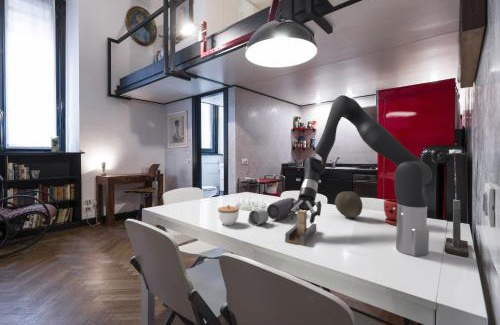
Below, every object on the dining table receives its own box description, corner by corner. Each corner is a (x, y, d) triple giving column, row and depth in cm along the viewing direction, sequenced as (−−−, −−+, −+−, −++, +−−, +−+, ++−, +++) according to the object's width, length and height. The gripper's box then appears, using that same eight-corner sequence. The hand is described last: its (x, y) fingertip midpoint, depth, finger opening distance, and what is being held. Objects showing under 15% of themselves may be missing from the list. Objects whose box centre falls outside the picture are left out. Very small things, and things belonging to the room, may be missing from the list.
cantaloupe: (357, 215, 145) (358, 189, 145) (365, 221, 131) (366, 193, 131) (333, 214, 147) (333, 189, 147) (337, 220, 133) (338, 192, 133)
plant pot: (417, 228, 120) (418, 203, 119) (388, 226, 122) (389, 202, 122) (406, 221, 132) (407, 199, 132) (380, 219, 135) (380, 198, 135)
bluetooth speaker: (284, 212, 152) (285, 196, 152) (298, 214, 147) (299, 197, 146) (265, 220, 133) (265, 201, 133) (280, 223, 128) (281, 203, 128)
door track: (299, 228, 118) (299, 221, 118) (316, 231, 114) (316, 224, 114) (285, 241, 100) (285, 233, 100) (304, 245, 96) (304, 236, 96)
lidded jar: (229, 227, 119) (229, 208, 119) (213, 223, 126) (213, 205, 125) (243, 222, 128) (243, 204, 127) (227, 219, 134) (227, 202, 134)
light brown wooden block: (299, 232, 109) (299, 210, 109) (306, 233, 108) (306, 210, 108) (297, 234, 106) (297, 211, 106) (304, 235, 105) (304, 212, 104)
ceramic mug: (269, 223, 127) (269, 208, 127) (260, 227, 120) (259, 211, 120) (253, 220, 134) (253, 206, 133) (243, 223, 127) (243, 208, 127)
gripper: (292, 185, 116) (283, 214, 107) (322, 187, 109) (316, 218, 100) (295, 194, 121) (287, 223, 111) (325, 197, 114) (319, 228, 105)
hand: (301, 221), depth 106 cm, fingers open, 8 cm apart
